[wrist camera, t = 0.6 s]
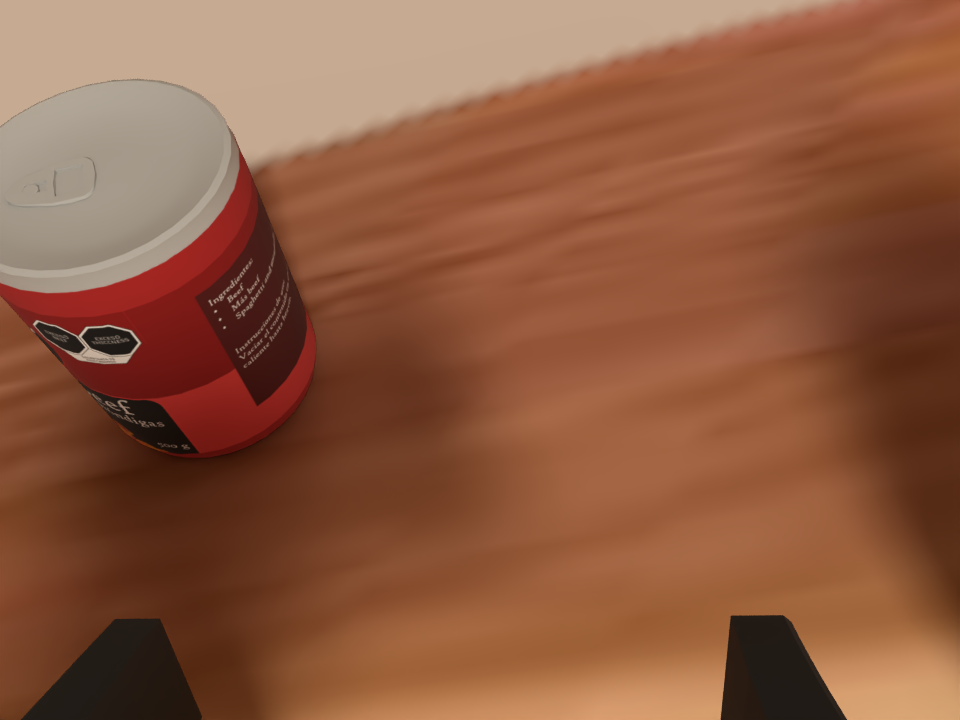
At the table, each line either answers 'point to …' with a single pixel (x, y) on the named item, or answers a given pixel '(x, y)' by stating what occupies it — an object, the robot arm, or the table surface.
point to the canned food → (152, 265)
